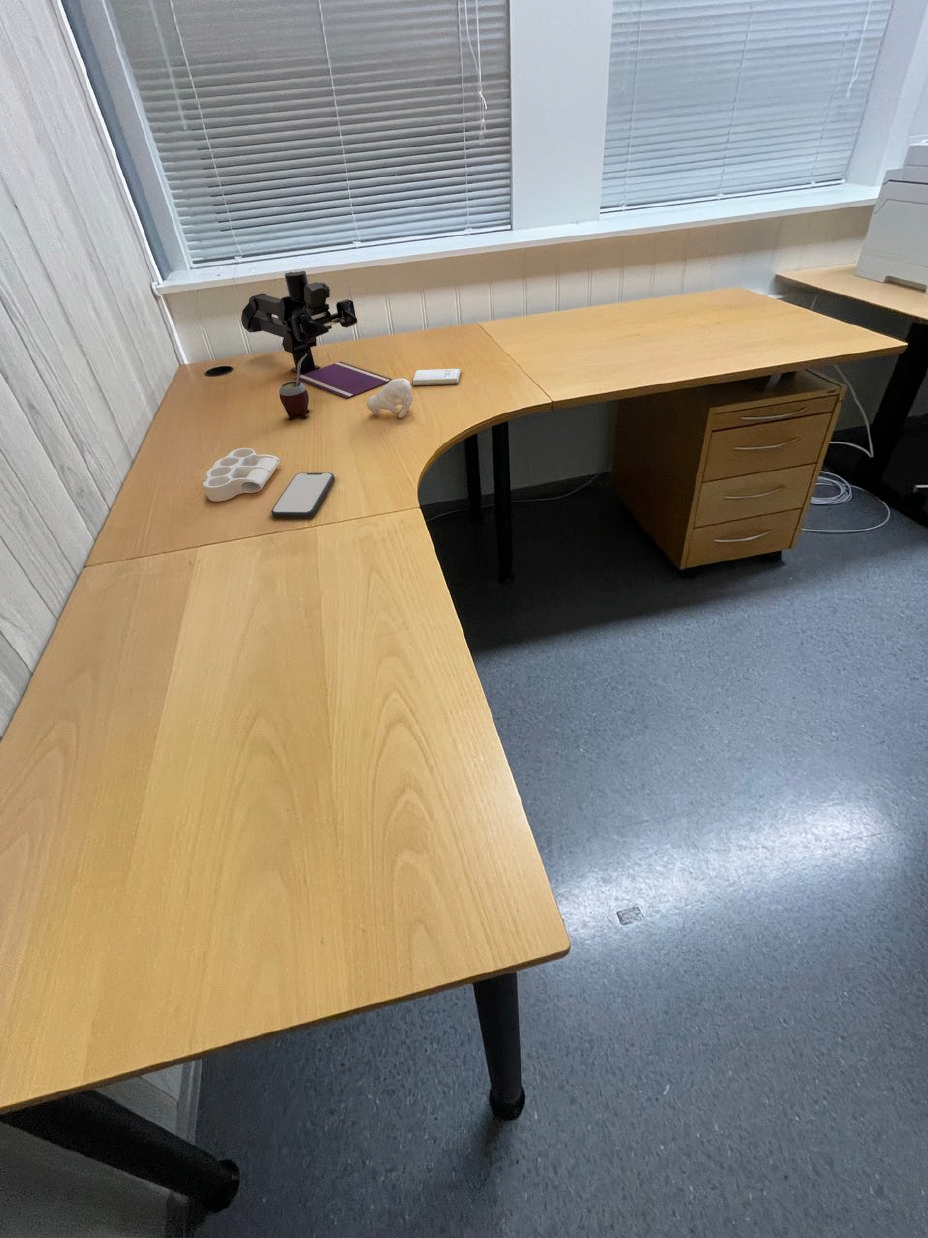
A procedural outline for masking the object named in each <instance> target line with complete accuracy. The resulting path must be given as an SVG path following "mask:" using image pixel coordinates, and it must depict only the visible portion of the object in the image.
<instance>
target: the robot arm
mask: <svg viewBox="0 0 928 1238" xmlns="http://www.w3.org/2000/svg"><path fill="white" fill-rule="evenodd" d="M284 279H285V284H286V287H287V291H288V295H287V296H283V297H281V298H279V297H275V296H272V295H268V294H267V293H263V292H261V293H258V294H254V295H251V296H250V297H249V299H248V303H247V304H246V305H245V306H244V307H243V309H242V311H241V317H240V322H241V325H242V327H243V328H244V330H246V331H247V332H248V333H259V332H266V333H268V334H271V335H273V336H277V337H279V338H283V339H282V342H281V346H282V348H283V350H284V352H286V353H289V354H291V356H292V359H293V363H294V367H291V371H292V372H295V373H297V366H298V363H299V361H300V360H301V358H302V357H303V356H305V355H306V354H307V356H306V357H305V358H304V359H303V361H302V363H301V368H300V372H299V375H304V374H307V373H310V372H313V371H315V370H318V369H321V367H320V366H319V365H317V364H315V360H314V356H313V352H312V348H313V347H317V344H318V343H317V338H318V337H320V336H323V335H325V334H327V333H329V332H330V330H331V329H333V326H334V325H336V324H340V326H341V327H343V328H346V329H347V328H350V327H353V326H354V325H356V324H358V318H357V316H356V310H355V305H354V301H353V300H352V299H348V298H346V299H344V300H339V301H337V302H336V304H335V307H336V312H334V313H331V312H330V304H329V303H327V299H329V298H331V297H330V296H331V289H330V287H329V285H327V284H326V282H318V281H316V282H312V283H309V281H308V275H307V272H306V270H300V271H294V272H293V271H290V272H285V273H284ZM276 316H277V317H276Z"/></svg>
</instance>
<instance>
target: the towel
mask: <svg viewBox="0 0 928 1238" xmlns="http://www.w3.org/2000/svg"><path fill="white" fill-rule="evenodd" d="M295 379H297V376H296V377H295ZM391 380H394V379H392V378H389V377H387V376H384V375H380V374H378V373H374V372H372V371H369V370H366V369H363V368H361V367H357V366H354V365H352V364H348V363H345V362H342V361H338V362H334V363H332V364H329V365H327V366H324V367H320V369H317V370H314V371H312V372H309V373H306V374H303V375H302V374H299V381H300V382H303V383H306V384H308V385H310V386H314V387H316V388H319V389H321V390H323V391H327V392H328V393H331V394H334V395H336V396H339V397H341V398H343V399H346V400H348V399H350V398H354V397H355V396H358V395H361V394H364V393H365V392H368V391H370V390H373V389H376V388H379V387H381V386H383V385H384V386H385V385H386V384H388V383H389V382H390V381H391Z"/></svg>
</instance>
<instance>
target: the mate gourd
mask: <svg viewBox="0 0 928 1238" xmlns="http://www.w3.org/2000/svg"><path fill="white" fill-rule="evenodd" d="M306 356H307V354H306V355H305V356H303V357H302V358H301V360H300V361H299V363H298V366H297V372H296V377H297V379H296V378H295V379H296V380H293V381H287V382H284V383H283V384H281V385H280V388H279V391H278V393H279V399H280V402H281V404H282V406H283V408H284V410H285V413H286V414H287V415H288V421H292V420H294V419H296V418H301V419H304V420H306V419H308V416H307V414H308V413H310V409H309V407H308V406H309V402H310V401H309V400H310V397H309V393H308V390H307V388H306V386H305V385H304V384H303V383H302V381H300V380H299V376H300V374H299V372H300V368H301V363H302V361H303V359H304V358H305V357H306Z"/></svg>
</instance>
